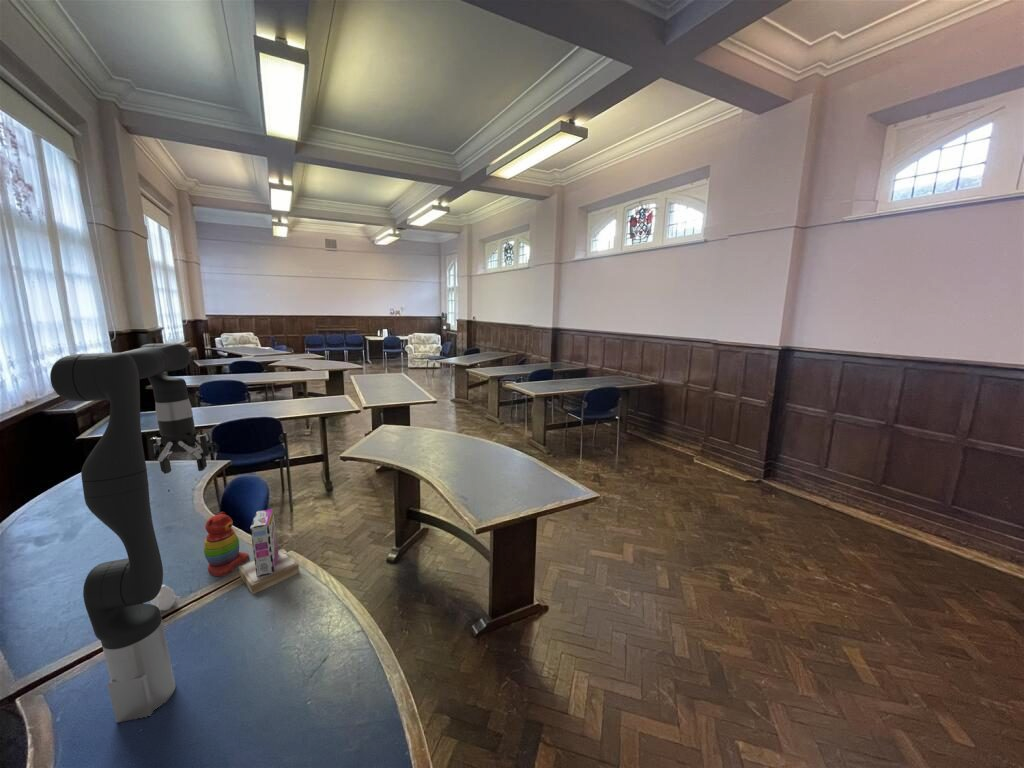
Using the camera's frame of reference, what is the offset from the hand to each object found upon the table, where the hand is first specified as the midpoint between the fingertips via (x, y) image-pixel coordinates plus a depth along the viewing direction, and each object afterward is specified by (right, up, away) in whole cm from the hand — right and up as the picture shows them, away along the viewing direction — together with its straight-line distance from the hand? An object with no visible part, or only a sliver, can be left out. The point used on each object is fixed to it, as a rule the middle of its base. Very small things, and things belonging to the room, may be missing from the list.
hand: (185, 471), depth 113 cm
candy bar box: (+15, -33, +14) cm, 39 cm away
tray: (+15, -36, +14) cm, 42 cm away
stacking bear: (-2, -35, +19) cm, 40 cm away
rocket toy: (-5, -39, 0) cm, 39 cm away
